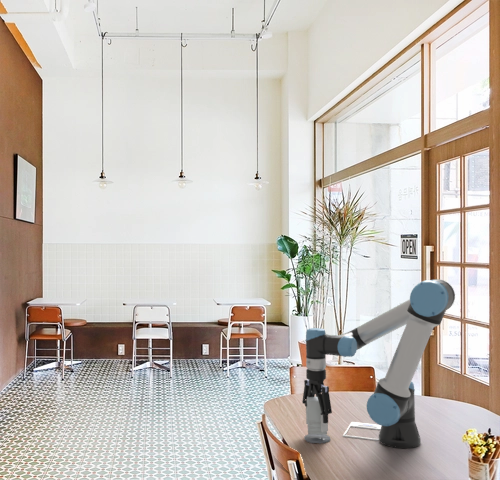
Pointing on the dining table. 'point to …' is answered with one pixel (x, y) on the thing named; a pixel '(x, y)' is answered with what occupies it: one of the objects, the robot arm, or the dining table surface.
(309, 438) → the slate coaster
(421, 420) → the dining table surface
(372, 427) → the photo frame
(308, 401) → the supplement box
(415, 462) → the dining table surface
